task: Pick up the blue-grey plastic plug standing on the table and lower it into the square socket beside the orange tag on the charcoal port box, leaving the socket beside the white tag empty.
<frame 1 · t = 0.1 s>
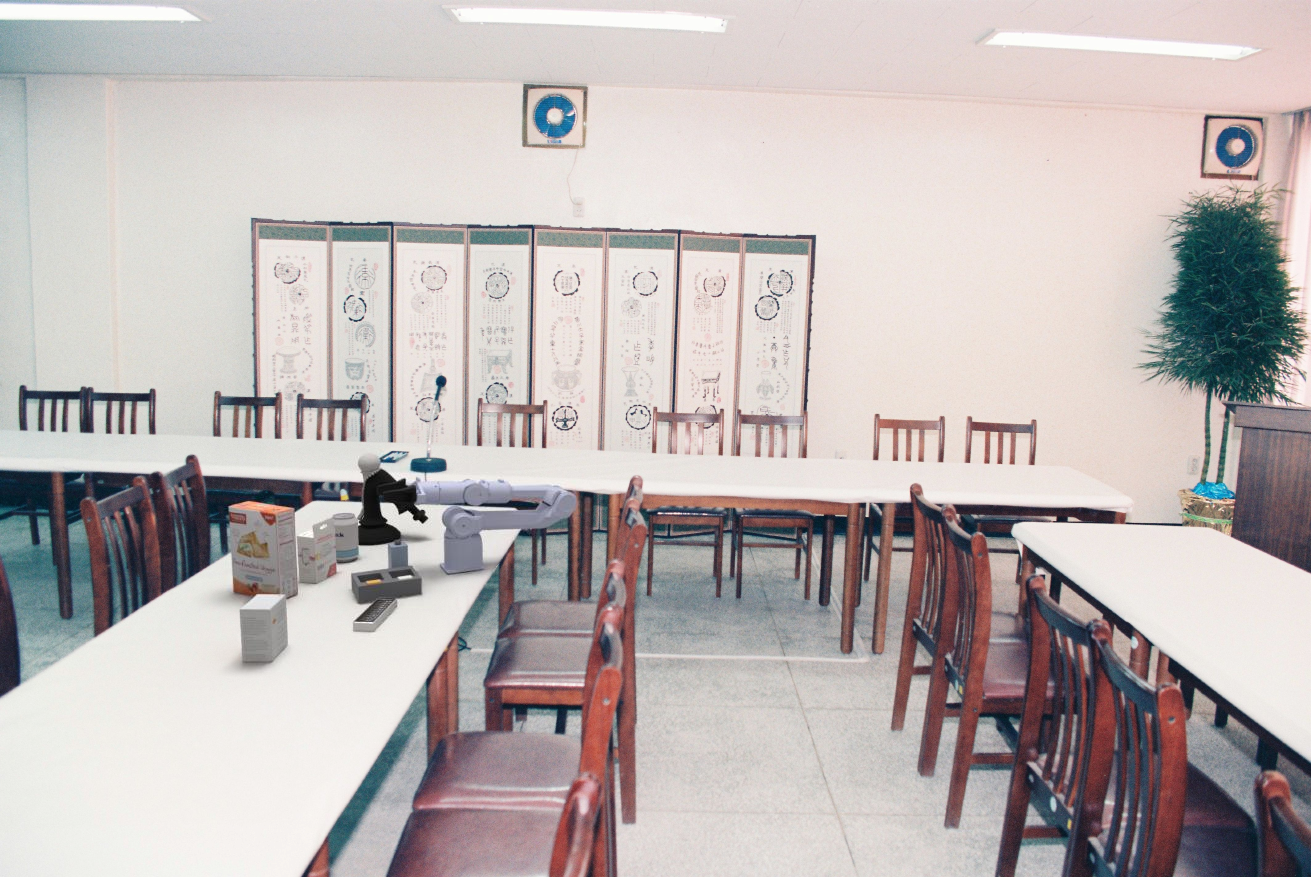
hand: (380, 493, 187), 22 cm above the table, tool horizontal, fingers open, 7 cm apart
port box: (386, 591, 182), on the table
multiport hub: (376, 620, 166), on the table
cracker box: (265, 594, 178), on the table
ink cartridge box: (317, 578, 190), on the table
sculpture: (388, 539, 224), on the table
beverage can: (345, 560, 204), on the table
plug: (398, 574, 194), on the table
small box: (265, 654, 148), on the table
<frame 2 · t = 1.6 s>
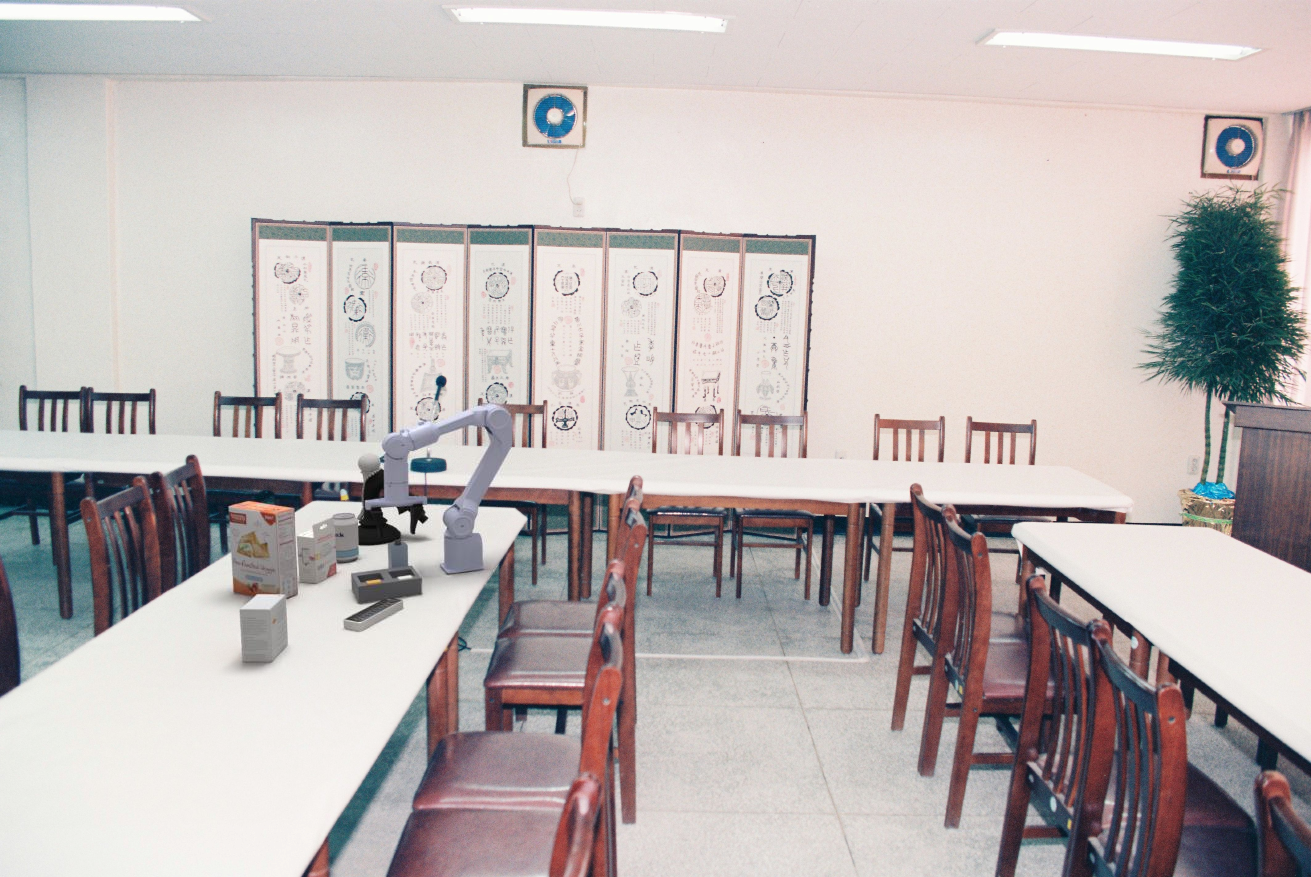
hand: (396, 534, 192), 10 cm above the table, tool pointing down, fingers open, 7 cm apart
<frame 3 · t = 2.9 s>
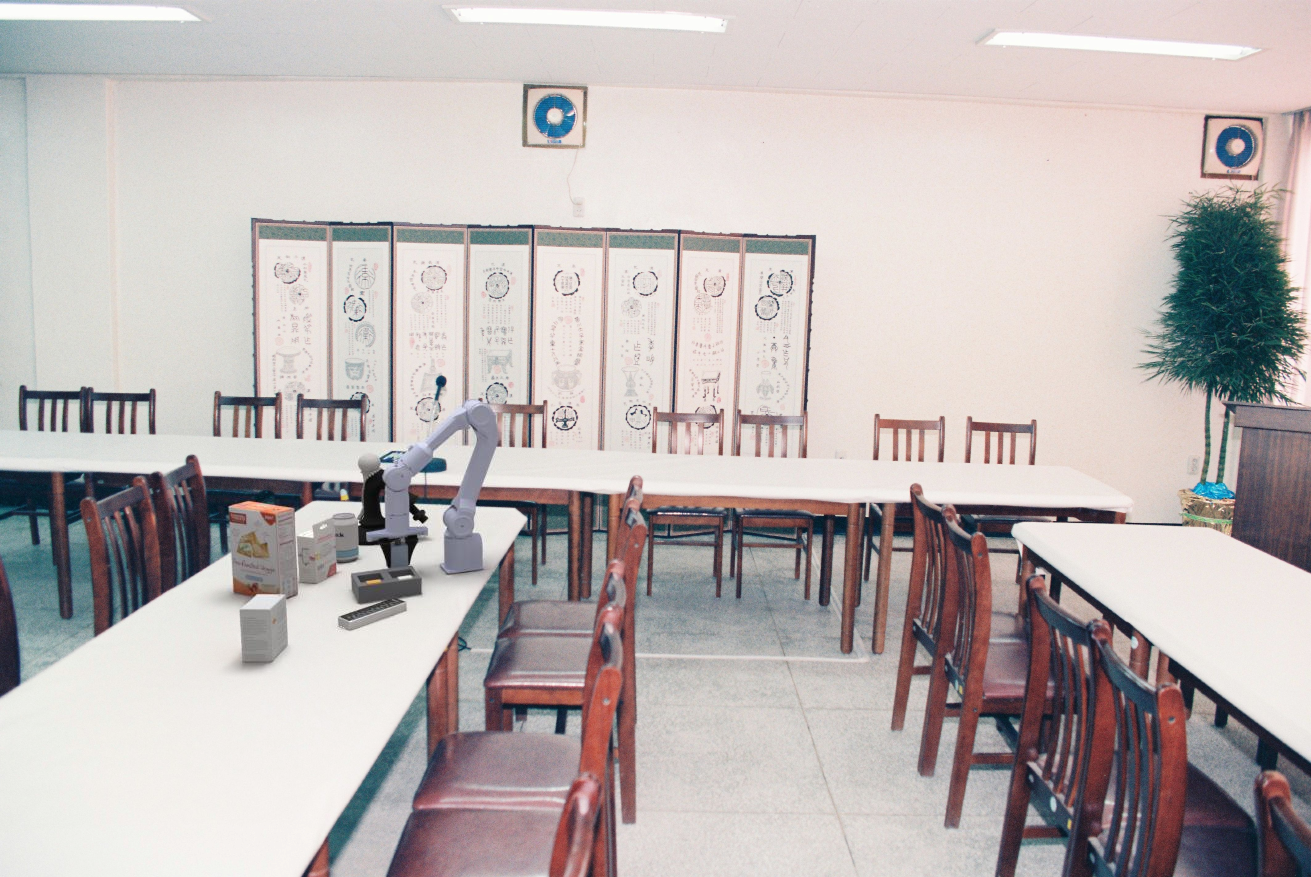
hand: (398, 565, 193), 2 cm above the table, tool pointing down, fingers closed on plug, 4 cm apart
plug: (398, 574, 194), on the table, touching gripper
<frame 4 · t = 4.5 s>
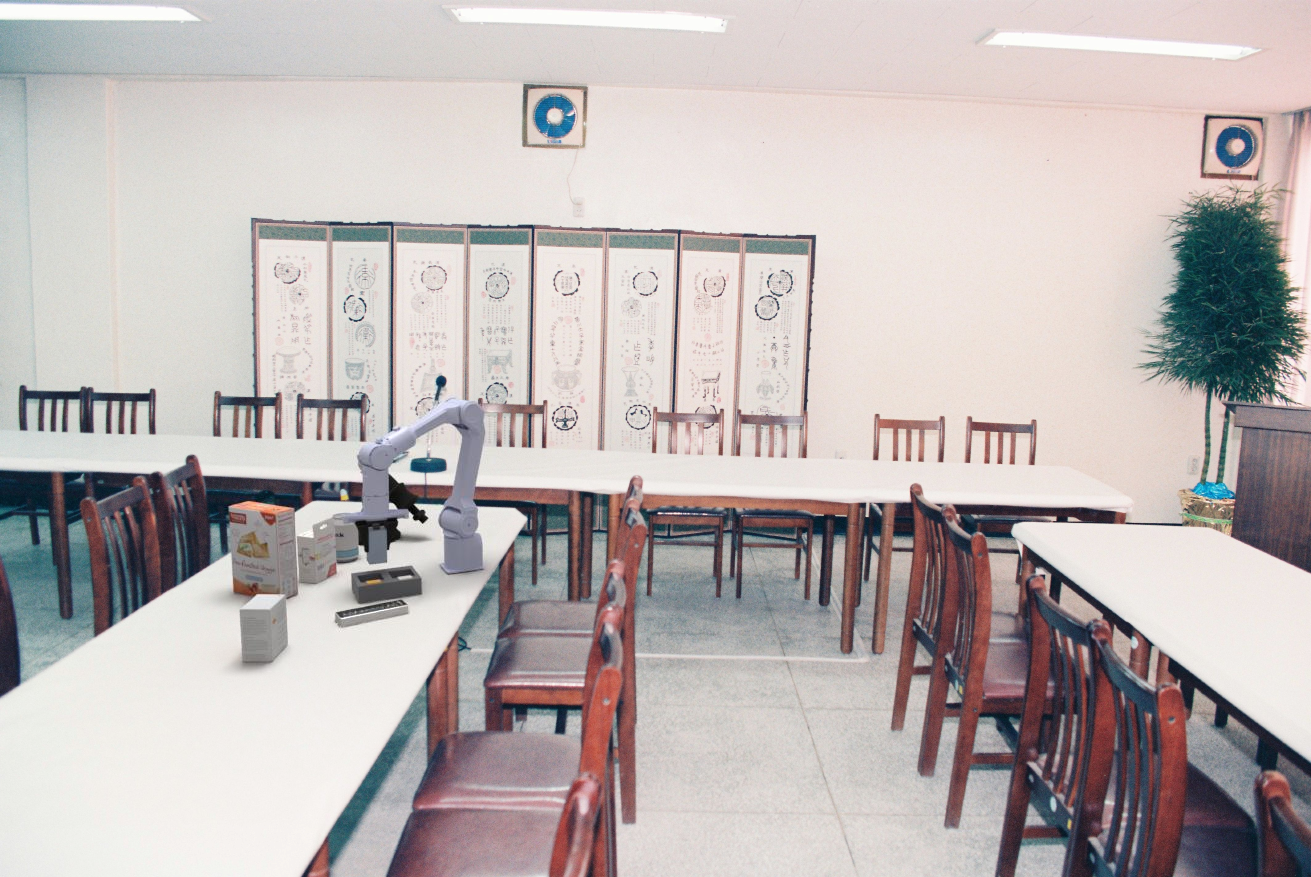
hand: (376, 550, 182), 10 cm above the table, tool pointing down, fingers closed on plug, 4 cm apart
plug: (376, 561, 182), point 7 cm above the table, touching gripper
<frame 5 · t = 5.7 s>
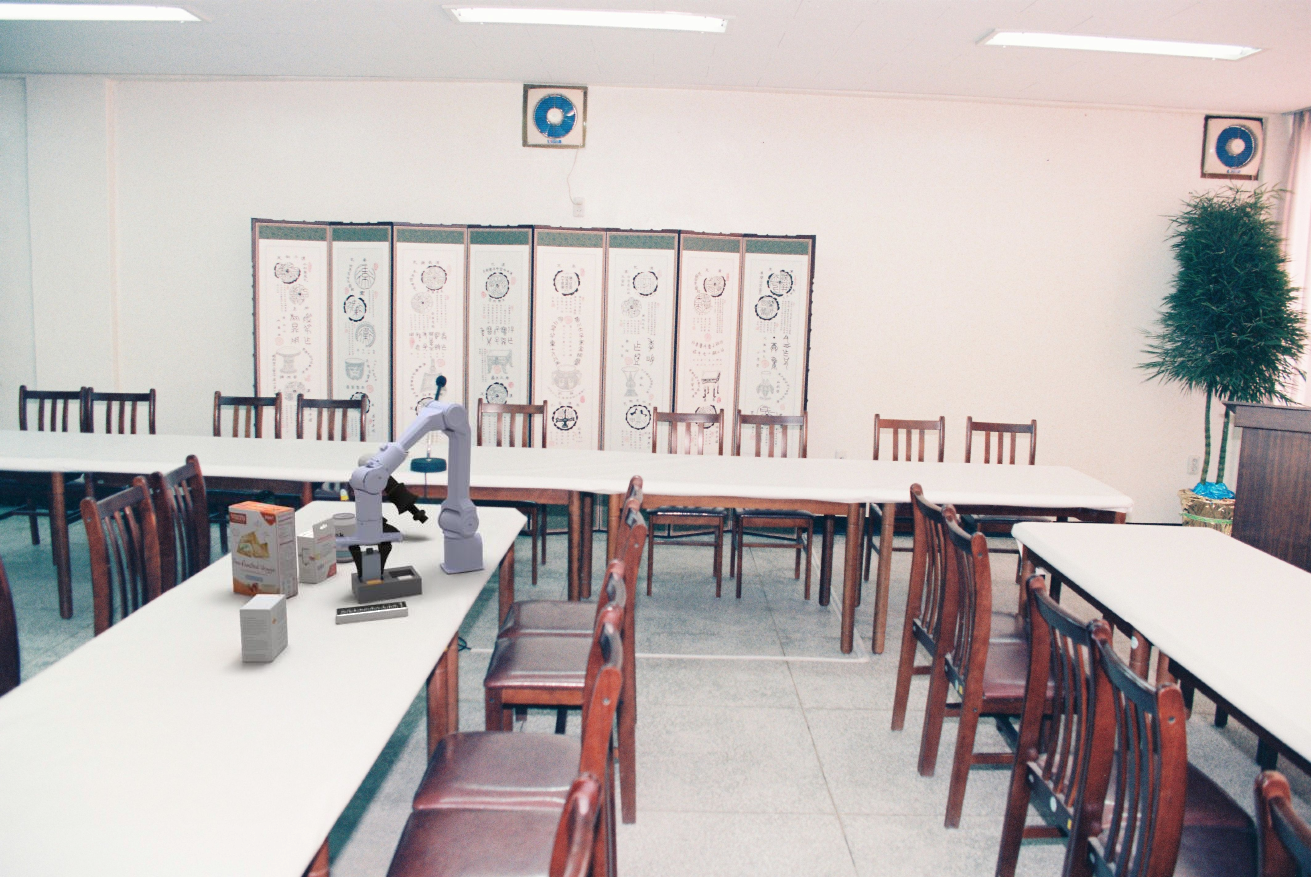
hand: (370, 574, 179), 5 cm above the table, tool pointing down, fingers closed on plug, 4 cm apart
plug: (370, 585, 180), point 2 cm above the table, touching gripper
when the fingers open (5 cm above the table, at t = 6.4 s): plug stays where it is, resting on port box.
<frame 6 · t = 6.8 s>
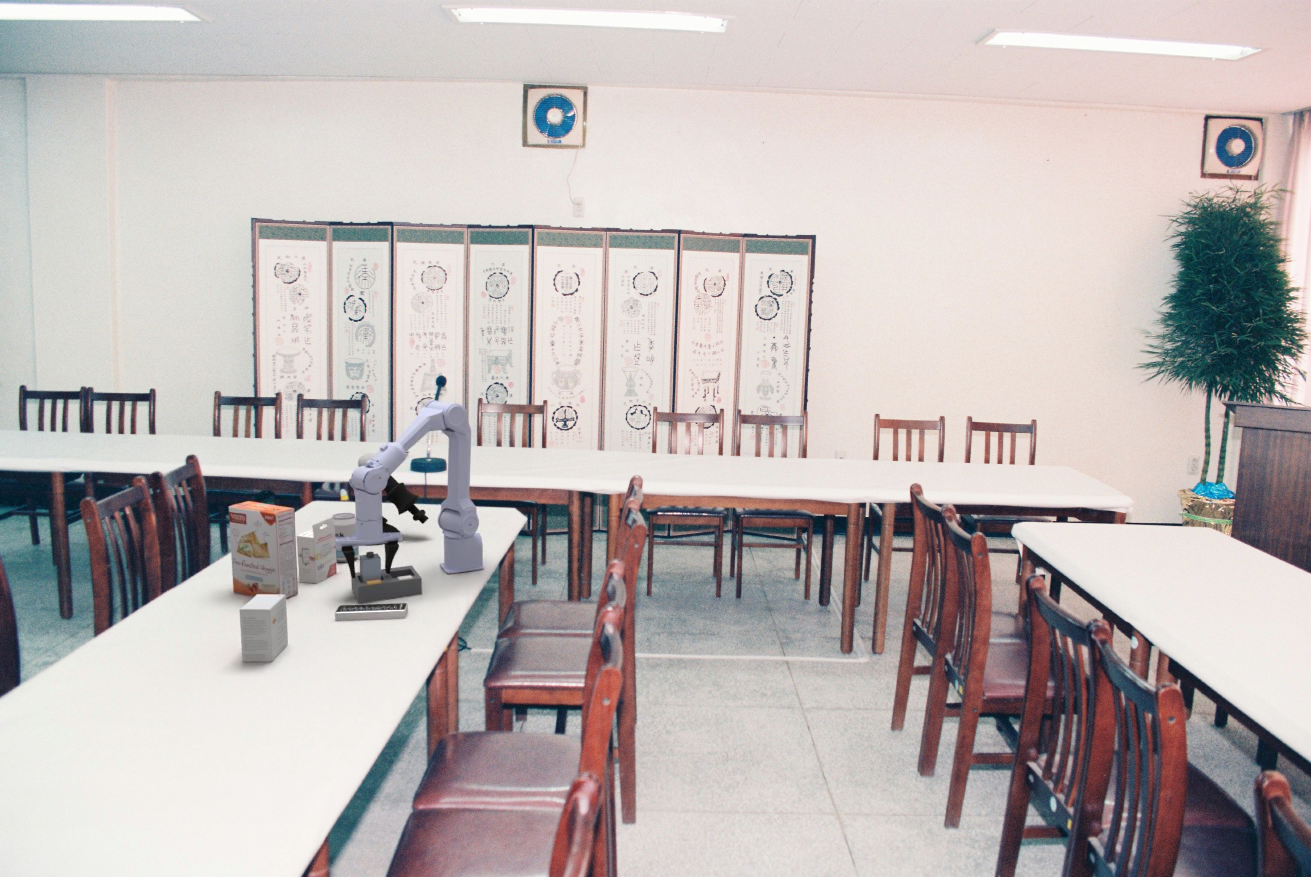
hand: (370, 574, 179), 5 cm above the table, tool pointing down, fingers open, 7 cm apart
plug: (370, 589, 180), point 1 cm above the table, touching port box
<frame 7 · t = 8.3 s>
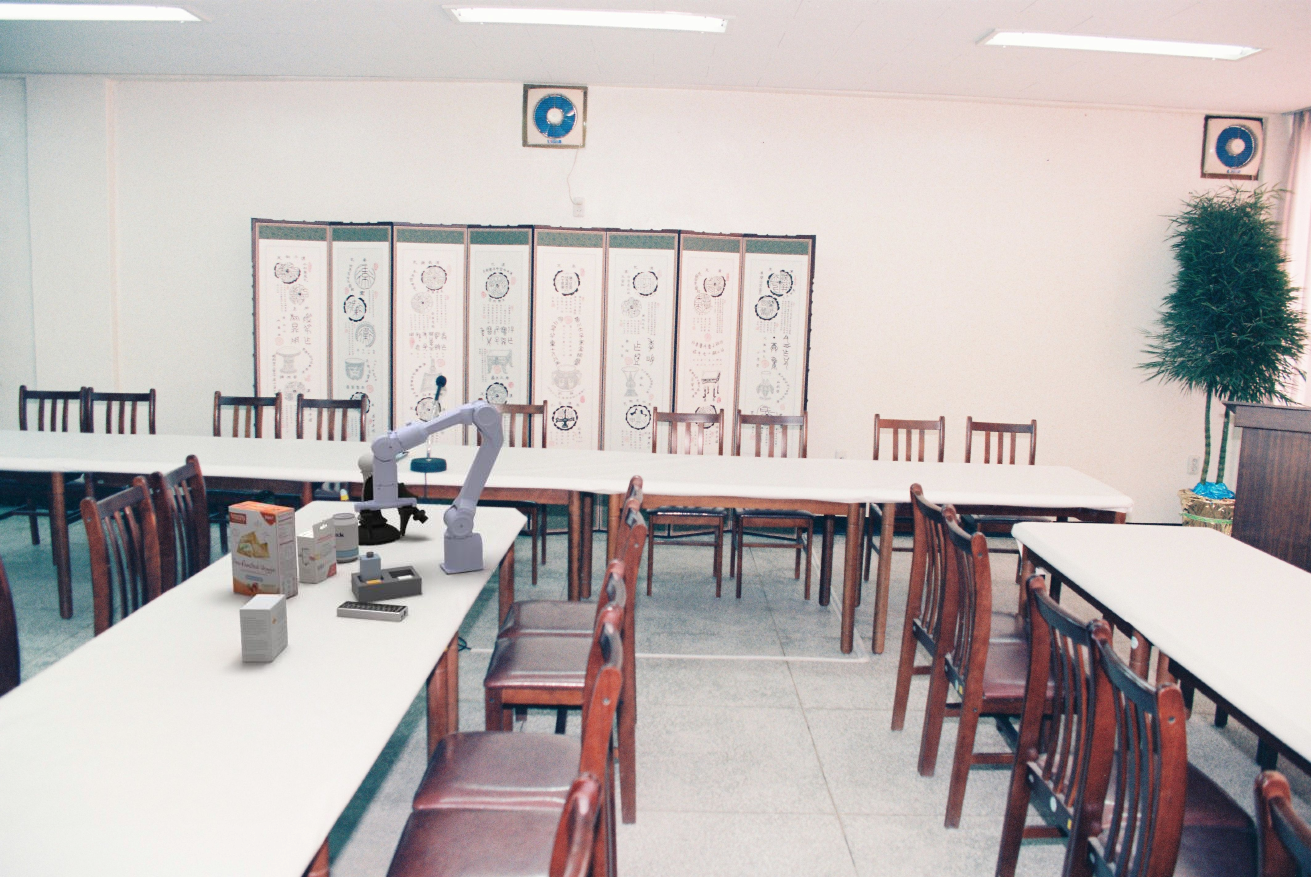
hand: (386, 537, 192), 10 cm above the table, tool pointing down, fingers open, 7 cm apart
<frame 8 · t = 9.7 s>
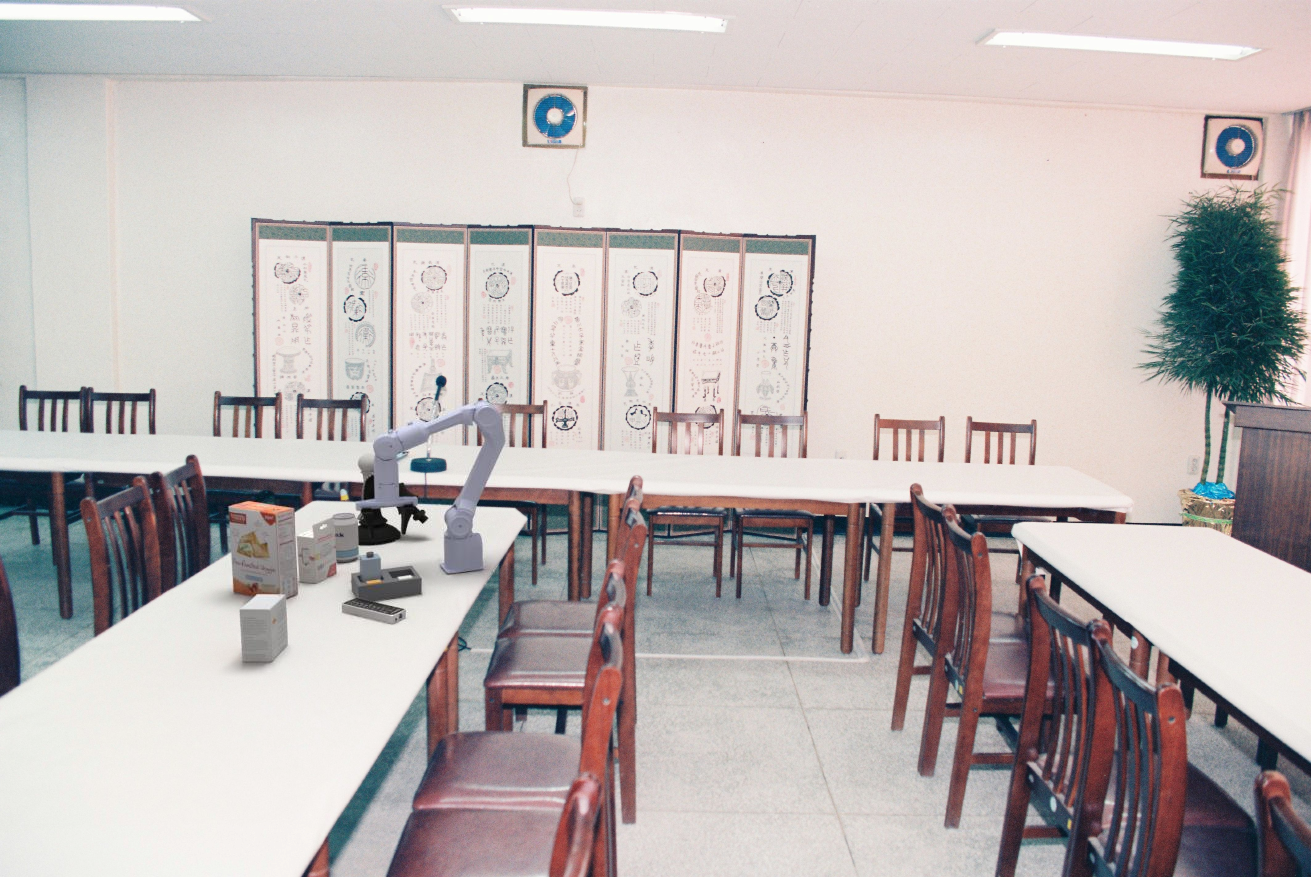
hand: (387, 535, 193), 10 cm above the table, tool pointing down, fingers open, 7 cm apart
at the end: plug 0.2 cm from the target spot on the port box, point 1.0 cm above the port box's base; the gripper is holding nothing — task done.
